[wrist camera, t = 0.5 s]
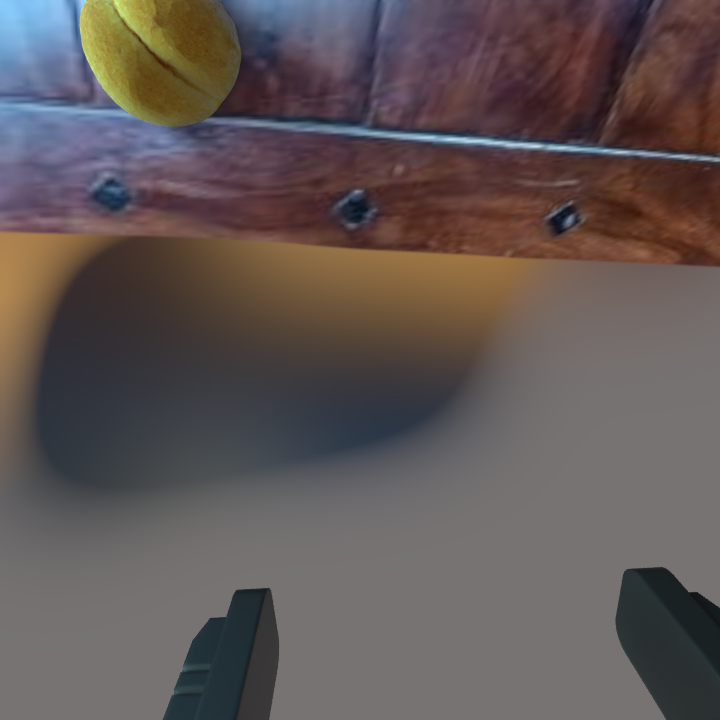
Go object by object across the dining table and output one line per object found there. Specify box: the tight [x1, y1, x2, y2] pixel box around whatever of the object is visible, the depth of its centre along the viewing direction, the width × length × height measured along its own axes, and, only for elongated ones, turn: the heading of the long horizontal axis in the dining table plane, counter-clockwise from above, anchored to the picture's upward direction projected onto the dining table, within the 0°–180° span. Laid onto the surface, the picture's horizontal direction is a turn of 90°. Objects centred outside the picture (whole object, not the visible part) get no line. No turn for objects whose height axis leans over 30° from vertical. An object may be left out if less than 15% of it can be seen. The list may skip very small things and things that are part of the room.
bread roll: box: [80, 0, 241, 127], centre depth 26 cm, size 8×9×4 cm
